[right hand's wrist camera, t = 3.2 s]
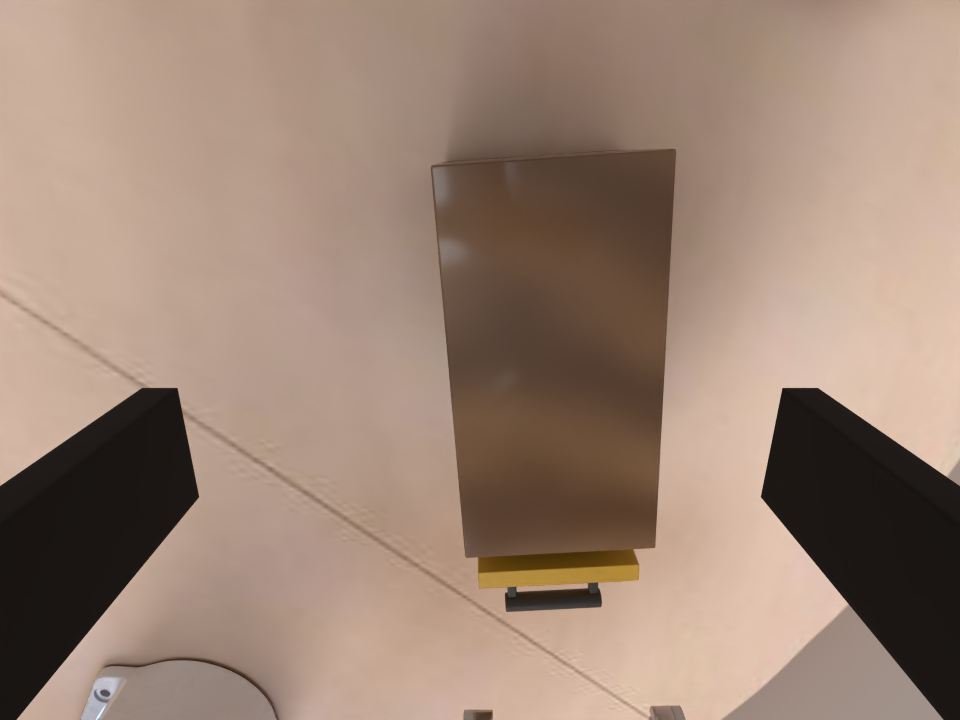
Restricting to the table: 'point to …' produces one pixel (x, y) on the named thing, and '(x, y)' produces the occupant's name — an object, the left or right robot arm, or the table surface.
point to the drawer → (556, 577)
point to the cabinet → (556, 345)
